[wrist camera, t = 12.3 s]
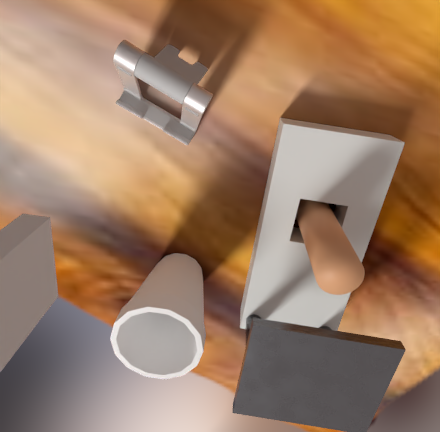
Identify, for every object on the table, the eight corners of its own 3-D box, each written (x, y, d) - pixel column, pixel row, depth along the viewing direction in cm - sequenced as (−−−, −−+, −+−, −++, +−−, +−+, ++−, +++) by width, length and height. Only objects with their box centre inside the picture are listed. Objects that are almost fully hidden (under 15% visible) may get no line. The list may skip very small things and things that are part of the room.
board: (280, 117, 38) (283, 123, 34) (389, 134, 38) (404, 142, 34) (240, 307, 49) (240, 328, 45) (326, 321, 49) (332, 343, 45)
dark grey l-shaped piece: (251, 253, 41) (252, 325, 30) (362, 271, 41) (405, 349, 30) (236, 327, 45) (232, 412, 34) (336, 343, 45) (365, 434, 34)
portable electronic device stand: (121, 102, 39) (90, 112, 31) (151, 32, 36) (125, 25, 28) (189, 142, 40) (176, 161, 32) (224, 78, 37) (218, 83, 29)
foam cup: (218, 248, 45) (207, 314, 33) (210, 305, 49) (199, 384, 37) (145, 238, 45) (109, 301, 34) (143, 296, 49) (110, 371, 37)
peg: (299, 192, 41) (322, 250, 29) (332, 197, 41) (371, 258, 29) (291, 222, 43) (310, 290, 30) (324, 227, 43) (356, 298, 30)
